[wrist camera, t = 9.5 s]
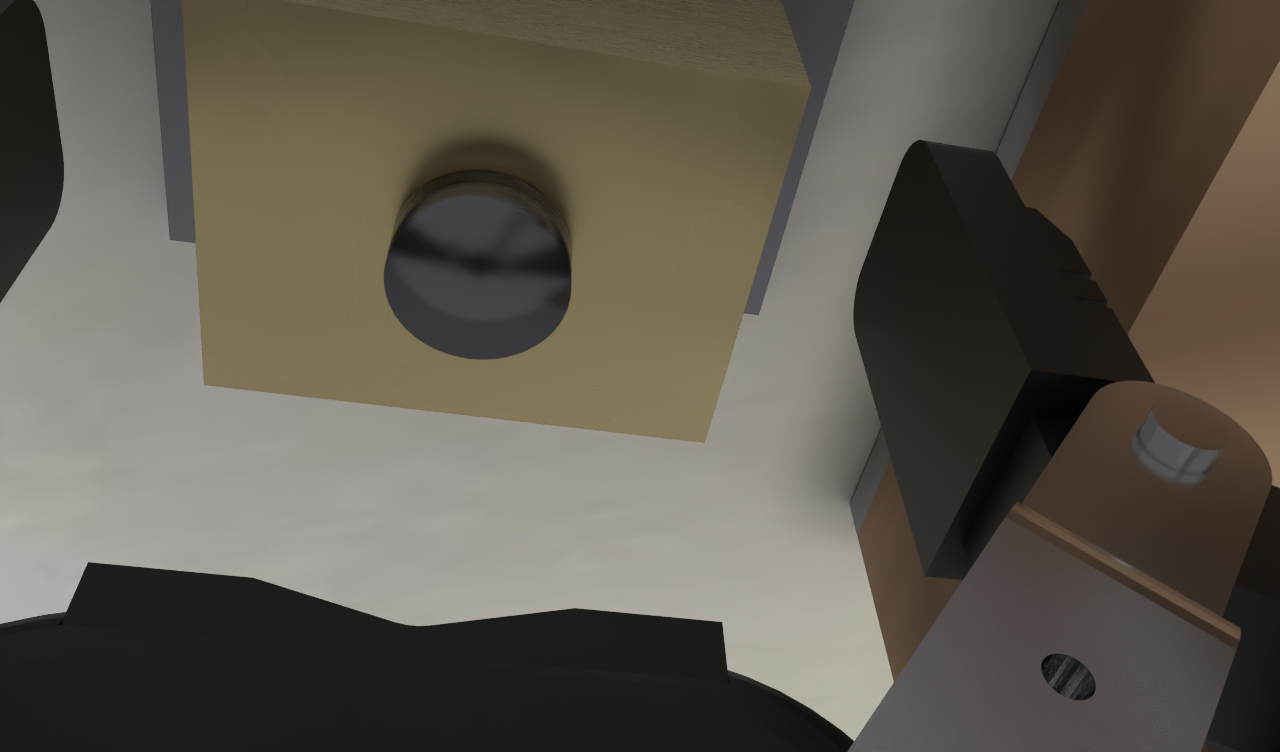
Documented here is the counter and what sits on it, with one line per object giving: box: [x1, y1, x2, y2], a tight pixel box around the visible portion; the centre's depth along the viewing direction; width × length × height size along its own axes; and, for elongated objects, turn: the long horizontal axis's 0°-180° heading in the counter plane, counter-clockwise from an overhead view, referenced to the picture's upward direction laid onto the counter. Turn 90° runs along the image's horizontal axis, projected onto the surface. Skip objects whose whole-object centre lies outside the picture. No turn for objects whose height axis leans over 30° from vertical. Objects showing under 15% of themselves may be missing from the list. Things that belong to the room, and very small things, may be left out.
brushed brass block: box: [182, 0, 811, 443], centre depth 13 cm, size 4×5×7 cm
